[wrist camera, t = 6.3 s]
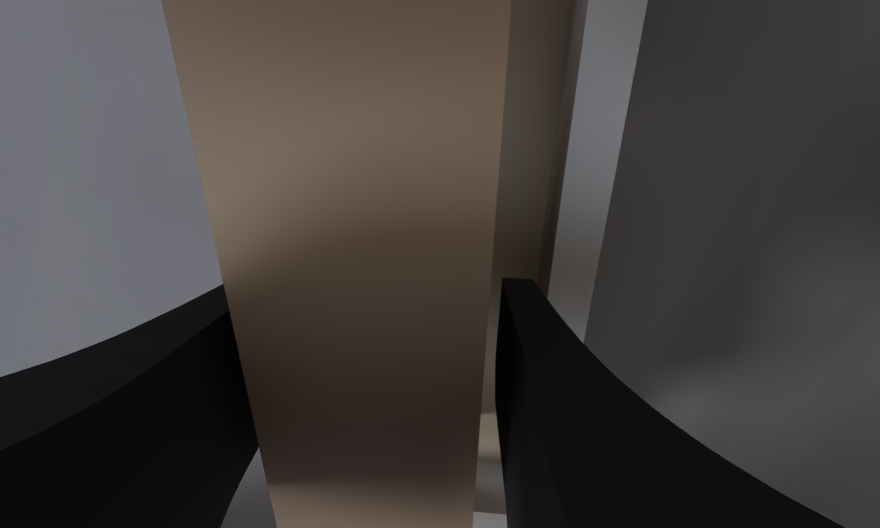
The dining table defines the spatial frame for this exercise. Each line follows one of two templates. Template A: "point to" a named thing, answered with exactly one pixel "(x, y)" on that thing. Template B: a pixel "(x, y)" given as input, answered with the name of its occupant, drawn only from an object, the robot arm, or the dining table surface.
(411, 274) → the brown rectangular block
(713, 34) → the dining table surface
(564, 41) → the door track
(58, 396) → the robot arm
